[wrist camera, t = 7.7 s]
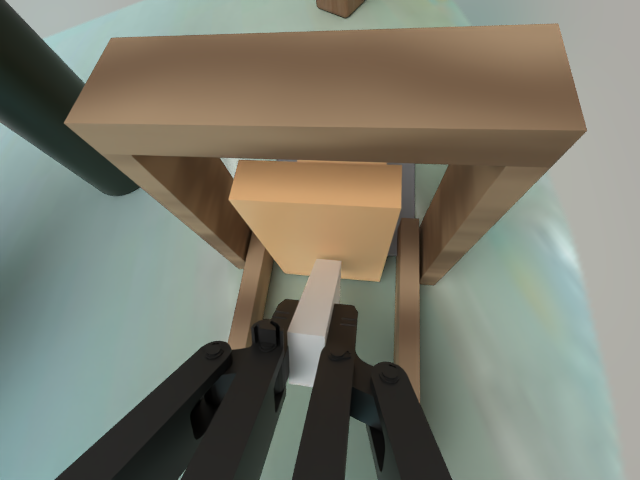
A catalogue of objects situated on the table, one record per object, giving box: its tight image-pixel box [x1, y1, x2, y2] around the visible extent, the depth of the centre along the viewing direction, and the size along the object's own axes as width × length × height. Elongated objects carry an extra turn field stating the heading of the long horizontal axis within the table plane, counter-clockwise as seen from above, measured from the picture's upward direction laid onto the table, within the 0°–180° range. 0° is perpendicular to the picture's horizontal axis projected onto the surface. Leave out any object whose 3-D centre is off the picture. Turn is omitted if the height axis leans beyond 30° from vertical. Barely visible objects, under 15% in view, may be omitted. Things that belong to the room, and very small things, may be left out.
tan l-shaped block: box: [228, 160, 402, 282], centre depth 19 cm, size 12×7×11 cm, turn 173°
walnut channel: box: [64, 24, 587, 403], centre depth 14 cm, size 16×15×16 cm
